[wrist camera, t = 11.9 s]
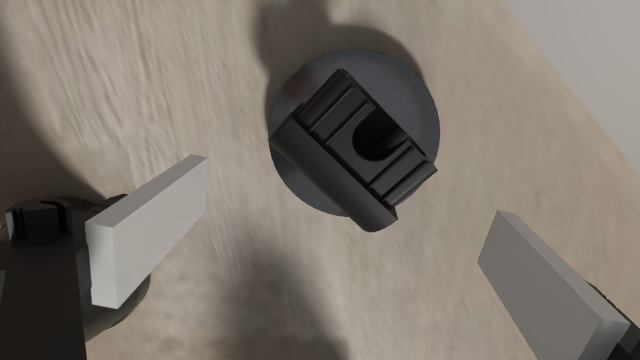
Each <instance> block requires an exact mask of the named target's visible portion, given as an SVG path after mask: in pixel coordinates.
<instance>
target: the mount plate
mask: <svg viewBox="0 0 640 360" xmlns="http://www.w3.org/2000/svg"><path fill="white" fill-rule="evenodd" d="M342 68H343V69H344V70H345V71H346V72H348V73H349V74H350V75H351V76H352V77H353V78H354V79H355V80H356V81H357V82H358V83H359V84H360V85H361V86H362V87H363V88H364V89H365V90H366V91H367V92H368V93H369V94H370V96H371V97H372V98H373V99H374V100H375V101H376V102H377V103H378V104H379V105H380V106H381V107H382V108H383V109H384V110H385V111H386V112H387V113H388V114H389V115H390V116H391V117H392V118H393V119H394V120H395V121H396V122H397V123H398V125H399V126H400V127H401V128H402V129H403V130H404V131H405V132H406V133H407V134H408V135H409V136H410V137H411V138H412V139H413V140H414V141H415V142H416V143H417V144H418V146H419V147H420V148H421V149H422V150H423V152H424V153H425V154H426V155H427V156H428V158H429V160H428V161H431V162H432V164H434V161H435V159H436V156H437V152H438V147H439V140H440V123H439V117H438V112H437V109H436V106H435V103H434V100H433V98H432V96H431V94H430V92H429V90H428V89H427V87H426V86H425V85H424V83H423V82H422V80H421V79H420V78H419V77H418V76H417V75H416V74H415V73H414V72H413V71H412V70H411V69H409V68H408V67H407V66H406V65H404V64H403V63H401V62H399V61H398V60H396V59H394V58H392V57H390V56H387V55H385V54H382V53H378V52H374V51H370V50H360V49H354V50H342V51H336V52H332V53H329V54H326V55H323V56H321V57H319V58H317V59H314V60H312V61H311V62H309V63H308V64H306V65H305V66H303V67H302V68H301V69H299V70H298V71H297V72H296V73H295V74H294V75H293V76H292V77H291V78H290V79H289V80H288V81H287V83H286V84H285V85H284V87H283V88H282V90H281V91H280V93H279V95H278V97H277V99H276V101H275V103H274V106H273V109H272V112H271V116H270V122H269V133H268V137H269V136H270V135H271V134H272V133H273V132H274V130H275V129H276V128H277V127H278V126H279V125H280V124H281V123H282V122H283V121H284V119H285V118H286V117H287V116H288V115H289V114H290V113H291V112H292V111H293V110H294V109H295V108H296V107H298V106H299V105H300V104H301V103H303V104H305V103H306V102H307V101H308V100H309V99H310V98H311V96H312V95H313V94H314V93H315V92H316V91H317V90H318V89H319V88H320V87H321V86H322V85H323V84H324V83H325V81H326V80H327V79H328V78H329V77H330V76H331V75H332V74H333V73H334V72H335V71H336V70H337V69H342ZM269 148H270V152H271V157H272V160H273V162H274V165H275V168H276V170H277V172H278V173H279V175H280V177H281V178H282V180H283V181H284V183H285V184H286V186H287V187H288V188H289V189H290V190H291V191H292V192H293V193H294V194H295V195H296V196H297V197H298V198H299V199H301V200H302V201H304V202H305V203H307V204H308V205H310V206H312V207H314V208H316V209H317V210H320V211H323V212H325V213H328V214H332V215H336V216H344V217H349V216H348V215H347V214H346V213H345V212H343V211H342V210H341V209H340V208H339V207H338V206H337V205H336V204H335V203H334V202H333V201H332V200H331V199H329V198H328V197H327V196H326V195H325V194H324V193H323V192H322V191H321V190H320V189H319V188H318V187H316V186H315V185H314V184H313V183H312V182H311V181H310V180H309V179H308V178H307V177H306V176H305V175H304V174H302V173H301V172H300V171H299V170H298V169H297V168H296V167H295V166H294V165H293V164H292V163H291V162H290V161H288V160H287V159H286V158H285V157H284V156H283V155H282V154H281V153H280V152H279V151H278V150H277V149H276V148H274V147H273V146H272V145H271V144H270V143H269ZM420 186H421V185H420ZM420 186H418V187H417V188H416V189H415V190H414V191H412V192H411V193H410V194H409V195H408V196H406V197H405V198H404V199H403V200H402V201H400V202H399V203H398V204H400V203H401V202H403V201H404V200H406V199H407V198H408V197H409V196H411V195H412V194H413V193H414V192H415V191H416V190H417V189H418V188H419V187H420ZM398 204H397V205H398ZM397 205H396V206H397Z"/></svg>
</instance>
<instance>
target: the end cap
mask: <svg viewBox="0 0 640 360" xmlns="http://www.w3.org/2000/svg"><path fill="white" fill-rule="evenodd" d="M268 141H269V143H270V144H271V145H272V146H273V147H274V148H276V149H277V150H278V151H279V152H280V153H281V154H282V155H283V156H284V157H285V158H286V159H287V160H288V161H290V162H291V163H292V164H293V165H294V166H295V167H296V168H297V169H298V170H299V171H300V172H301V173H302V174H304V175H305V176H306V177H307V178H308V179H309V180H310V181H311V182H312V183H313V184H314V185H315V186H316V187H318V188H319V189H320V190H321V191H322V192H323V193H324V194H325V195H326V196H327V197H328V198H329V199H331V200H332V201H333V202H334V203H335V204H336V205H337V206H338V207H339V208H340V209H341V210H342V211H343V212H345V213H346V214H347V215H348V216H349V217H350V218H351V219H352V220H353V221H354V222H355V223H356V224H357V225H359V226H360V227H361V228H362V229H363V230H364V231H366V232H376V231H380V230H382V229H384V228H386V227H388V226H389V225H391V224H392V223H394V222H395V221H396V220H398V217H397V214H396V210H395V206H396V205H397V204H398V203H399V202H400V201H402V200H403V199H404V198H405V197H406V196H408V195H409V194H410V193H411V192H412V191H414V190H415V189H416V188H417V187H418V186H420V185H421V184H422V183H423V182H424V181H426V180H427V179H428V178H429V177H430V176H432V175H433V174H434V173H435V172H436V171H438V170H437V169H436V167H435V166H434V165H433V164H432V162H431V161H428V160H429V158H428V156H427V155H426V154H425V153H424V152H423V150H422V149H421V148H420V147H419V146H418V144H417V143H416V142H415V141H414V140H413V139H412V138H411V137H410V136H409V135H408V134H407V133H406V132H405V131H404V130H403V129H402V128H401V127H400V126H399V125H398V123H397V122H396V121H395V120H394V119H393V118H392V117H391V116H390V115H389V114H388V113H387V112H386V111H385V110H384V109H383V108H382V107H381V106H380V105H379V104H378V103H377V102H376V101H375V100H374V99H373V98H372V97H371V96H370V94H369V93H368V92H367V91H366V90H365V89H364V88H363V87H362V86H361V85H360V84H359V83H358V82H357V81H356V80H355V79H354V78H353V77H352V76H351V75H350V74H349V73H348V72H346V71H345V70H344V69H343V68H342V69H337V70H336V71H335V72H334V73H333V74H332V75H331V76H330V77H329V78H328V79H327V80H326V81H325V83H324V84H323V85H322V86H321V87H320V88H319V89H318V90H317V91H316V92H315V93H314V94H313V95H312V96H311V98H310V99H309V100H308V101H307V102H306V103H305V104H303V103H301V104H300V105H299V106H298V107H296V108H295V109H294V110H293V111H292V112H291V113H290V114H289V115H288V116H287V117H286V118H285V119H284V121H283V122H282V123H281V124H280V125H279V126H278V127H277V128H276V129H275V130H274V132H273V133H272V134H271V135H270V136H269V138H268Z"/></svg>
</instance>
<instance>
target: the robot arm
mask: <svg viewBox="0 0 640 360" xmlns="http://www.w3.org/2000/svg"><path fill="white" fill-rule="evenodd" d="M207 169H208V157H202V156H197V155H190V156H188V157H187V158H185V159H184V160H182V161H180V162H179V163H177V164H176V165H174V166H173V167H171V168H169V169H168V170H166V171H165V172H163V173H162V174H160V175H158V176H157V177H155V178H154V179H152V180H151V181H149V182H147V183H146V184H144V185H143V186H141V187H140V188H138V189H136V190H135V191H133V192H132V193H130V194H129V195H128V194H121V195H118V196H114V197H111V198H108V199H107V200H105V201H103V202H102V203H100V204H98V205H95V204H93V203H90V202H87V201H84V200H80V199H75V198H67V197H59V198H51V199H36V200H29V201H25V202H22V203H18V204H16V205H14V206H12V207H10V208H9V209H8V210H7V211H6V213H5V215H6V221H7V222H6V223H5V224H4V225H3V226H2V228H1V229H0V360H87V356H86V346H85V343H86V342H87V341H89V340H90V339H92V338H94V337H95V336H97V335H98V334H100V333H101V332H103V331H104V330H106V329H108V328H111V327H113V326H115V325H116V324H118V323H120V322H121V321H123V320H124V319H125V318H126V317H128V316H129V315H130V314H131V312H132V311H133V310H134V309H135V308H136V307H137V306H138V304H139V303H140V302H141V301H142V300H143V298H144V297H145V295H146V293H147V291H148V288H149V284H150V273H151V271H152V270H153V269H154V268H155V267H156V266H157V265H158V264H159V263H160V262H161V260H162V259H163V258H164V257H165V256H166V255H167V254H168V253H169V252H170V250H171V249H172V248H173V247H174V246H175V245H176V244H177V243H178V242H179V241H180V239H181V238H182V237H183V236H184V235H185V234H186V233H187V232H188V231H189V230H190V228H191V227H192V226H193V225H194V224H195V223H196V222H197V221H198V220H199V218H200V217H201V216H202V215H203V214H204V213H205V210H206V190H207ZM477 263H478V264H479V266H480V268H481V269H482V271H483V272H484V274H485V276H486V277H487V279H488V280H489V282H490V284H491V285H492V287H493V288H494V290H495V292H496V293H497V295H498V296H499V298H500V300H501V301H502V303H503V304H504V306H505V308H506V309H507V311H508V312H509V314H510V316H511V317H512V319H513V320H514V322H515V324H516V325H517V327H518V328H519V330H520V332H521V333H522V335H523V336H524V338H525V340H526V341H527V343H528V344H529V346H530V348H531V349H532V351H533V352H534V354H535V356H536V357H537V359H538V360H640V328H638V327H637V326H636V325H635V324H634V323H633V322H632V321H631V320H630V319H629V318H628V317H627V316H626V315H625V314H624V313H622V312H621V311H620V310H619V309H618V308H616V306H615V305H614V304H613V303H612V302H611V301H610V300H608V299H606V297H605V296H604V295H603V294H602V293H601V292H600V291H599V290H598V289H597V288H596V287H595V286H593V285H592V284H590V283H589V282H587V281H586V280H584V279H583V278H582V277H581V276H580V275H579V274H578V273H577V272H576V271H575V270H574V269H572V268H571V267H570V266H569V265H568V264H567V263H566V262H565V261H564V260H563V259H562V258H561V257H560V256H559V255H558V254H557V253H556V252H555V251H554V250H553V249H551V248H550V247H549V246H548V245H547V244H546V243H545V242H544V241H543V240H542V239H541V238H540V237H539V236H538V235H537V234H536V233H535V232H534V231H533V230H531V229H530V228H529V227H528V226H527V225H526V224H525V223H524V222H523V221H522V220H521V219H520V218H519V217H518V216H517V215H516V214H515V213H510V212H505V211H499V210H497V212H496V215H495V217H494V220H493V222H492V225H491V228H490V230H489V233H488V235H487V238H486V240H485V243H484V246H483V248H482V251H481V253H480V256H479V258H478V261H477Z"/></svg>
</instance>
